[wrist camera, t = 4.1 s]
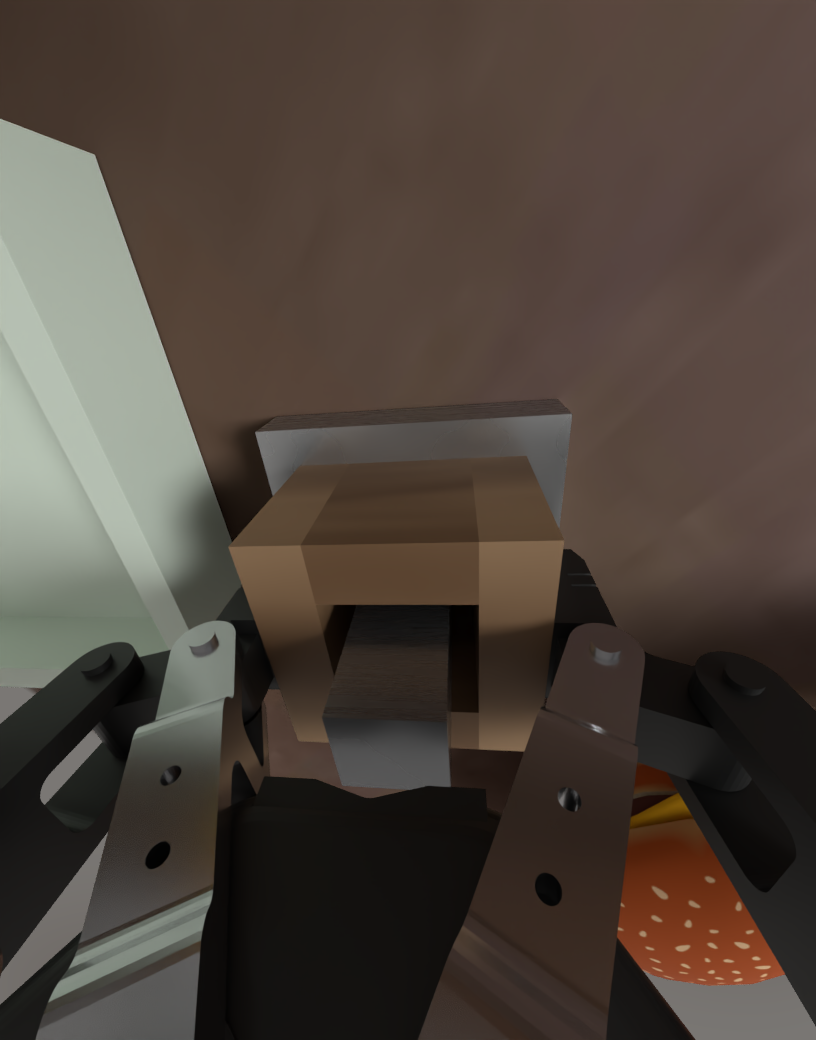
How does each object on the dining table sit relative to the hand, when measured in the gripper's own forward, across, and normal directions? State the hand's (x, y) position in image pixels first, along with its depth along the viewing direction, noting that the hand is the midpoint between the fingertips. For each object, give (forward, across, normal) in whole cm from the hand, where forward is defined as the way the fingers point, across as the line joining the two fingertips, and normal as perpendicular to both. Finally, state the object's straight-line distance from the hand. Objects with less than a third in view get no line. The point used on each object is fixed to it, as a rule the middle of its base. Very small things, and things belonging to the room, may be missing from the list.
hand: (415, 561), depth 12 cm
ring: (0, 0, 0) cm, 0 cm away
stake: (+2, 0, 0) cm, 2 cm away
